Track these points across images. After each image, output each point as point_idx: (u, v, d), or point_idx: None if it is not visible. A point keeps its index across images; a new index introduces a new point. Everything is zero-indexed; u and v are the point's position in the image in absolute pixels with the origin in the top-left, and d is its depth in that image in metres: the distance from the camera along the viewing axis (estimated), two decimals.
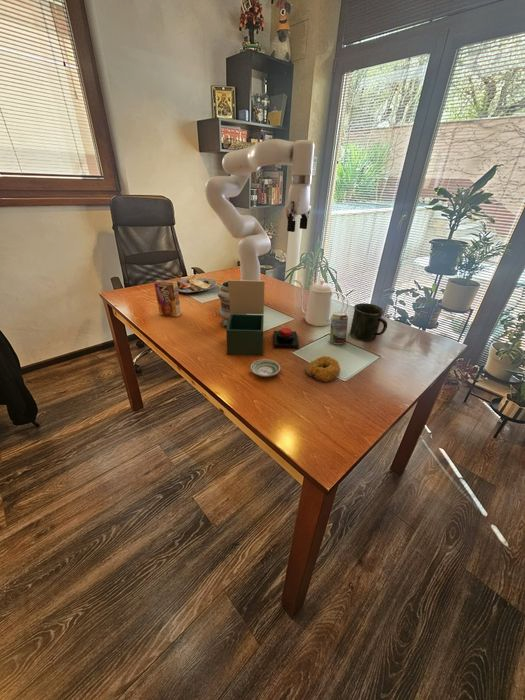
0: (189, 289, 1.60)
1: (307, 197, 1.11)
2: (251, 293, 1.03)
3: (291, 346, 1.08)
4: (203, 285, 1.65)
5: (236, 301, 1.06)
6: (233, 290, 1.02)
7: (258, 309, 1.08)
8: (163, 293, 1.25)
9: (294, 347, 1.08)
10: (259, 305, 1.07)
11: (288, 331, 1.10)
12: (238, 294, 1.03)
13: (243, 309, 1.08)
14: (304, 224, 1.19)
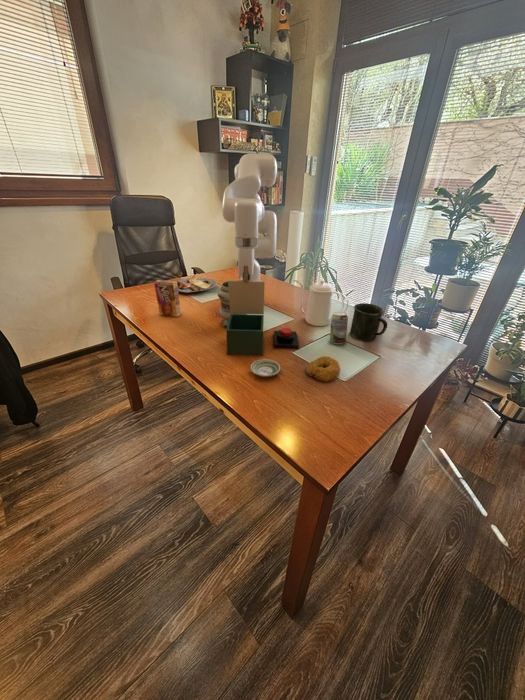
0: (189, 289, 1.60)
1: None
2: (251, 293, 1.03)
3: (291, 346, 1.08)
4: (203, 285, 1.65)
5: (236, 302, 1.06)
6: (233, 290, 1.02)
7: (258, 309, 1.08)
8: (163, 293, 1.25)
9: (294, 347, 1.08)
10: (259, 305, 1.07)
11: (288, 331, 1.10)
12: (238, 294, 1.03)
13: (243, 309, 1.08)
14: None
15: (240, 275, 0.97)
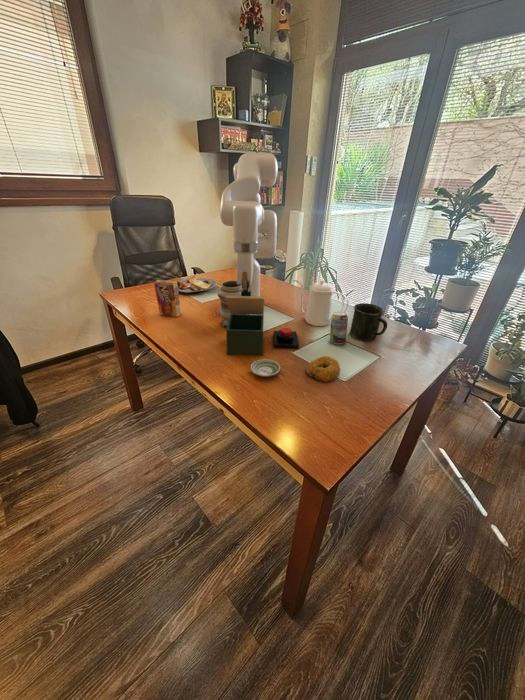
0: (189, 289, 1.60)
1: None
2: (251, 304, 1.01)
3: (291, 346, 1.08)
4: (203, 285, 1.65)
5: (235, 308, 1.05)
6: (232, 302, 1.00)
7: (258, 312, 1.08)
8: (163, 293, 1.25)
9: (294, 347, 1.08)
10: (259, 310, 1.06)
11: (288, 331, 1.10)
12: (237, 304, 1.01)
13: (243, 312, 1.08)
14: None
15: (239, 281, 0.93)
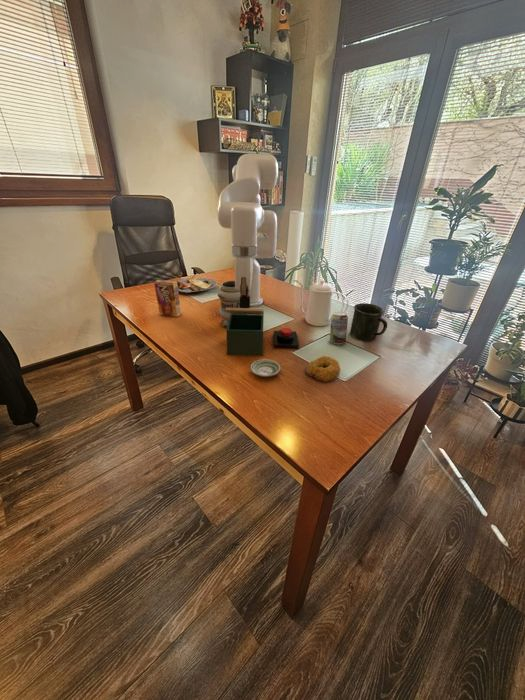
0: (189, 289, 1.60)
1: None
2: (250, 312, 1.01)
3: (291, 346, 1.08)
4: (203, 285, 1.65)
5: (235, 312, 1.05)
6: (232, 311, 1.00)
7: (258, 314, 1.08)
8: (163, 293, 1.25)
9: (294, 347, 1.08)
10: (259, 313, 1.06)
11: (288, 331, 1.10)
12: None
13: (243, 313, 1.08)
14: None
15: (237, 287, 0.88)
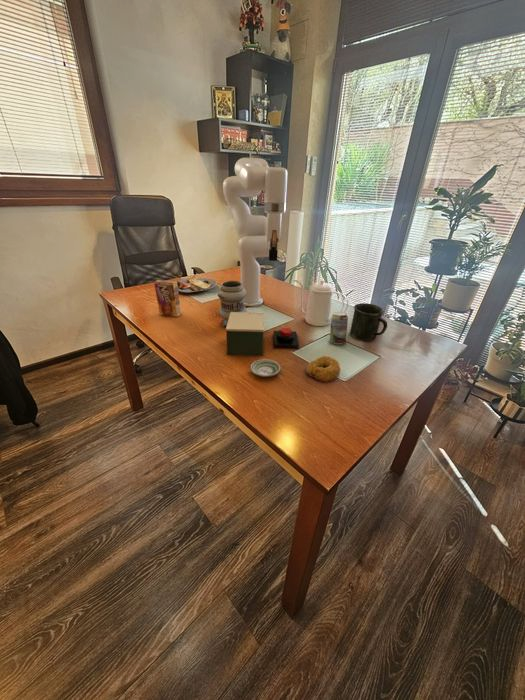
0: (189, 289, 1.60)
1: None
2: None
3: (291, 346, 1.08)
4: (203, 285, 1.65)
5: None
6: None
7: None
8: (163, 293, 1.25)
9: (294, 347, 1.08)
10: None
11: (288, 331, 1.10)
12: None
13: None
14: None
15: (269, 239, 1.04)
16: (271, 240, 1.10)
